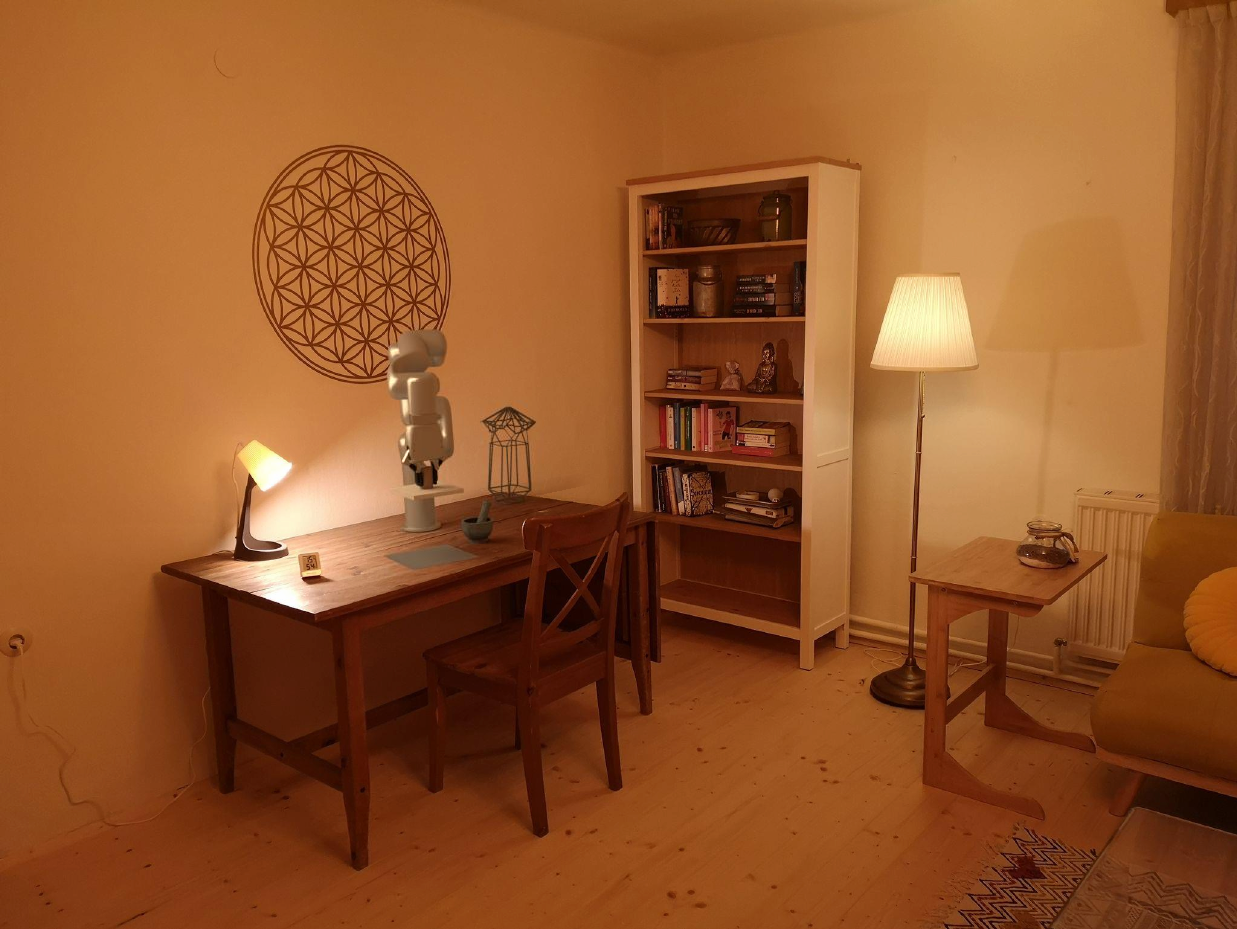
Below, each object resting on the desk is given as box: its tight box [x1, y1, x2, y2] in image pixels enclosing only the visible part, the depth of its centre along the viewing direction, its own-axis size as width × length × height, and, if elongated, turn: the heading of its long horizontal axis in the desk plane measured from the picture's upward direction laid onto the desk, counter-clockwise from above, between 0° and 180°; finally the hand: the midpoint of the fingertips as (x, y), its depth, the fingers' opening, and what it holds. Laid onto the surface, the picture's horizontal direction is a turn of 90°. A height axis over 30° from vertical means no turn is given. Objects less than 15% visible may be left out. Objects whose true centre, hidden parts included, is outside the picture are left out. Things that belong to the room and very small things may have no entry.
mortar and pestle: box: [460, 500, 494, 544], centre depth 289 cm, size 11×9×12 cm
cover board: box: [390, 465, 465, 500], centre depth 268 cm, size 15×15×7 cm
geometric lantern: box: [480, 406, 537, 505], centre depth 347 cm, size 16×16×35 cm
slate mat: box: [383, 543, 479, 571], centre depth 271 cm, size 20×20×1 cm
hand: (426, 484), depth 269 cm, fingers closed on cover board, 3 cm apart
